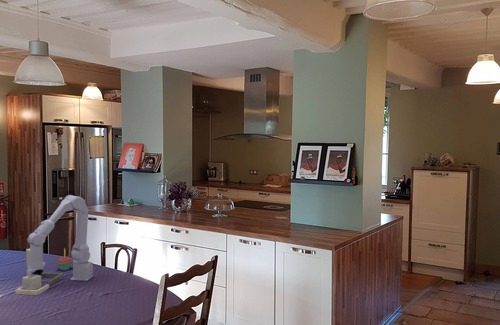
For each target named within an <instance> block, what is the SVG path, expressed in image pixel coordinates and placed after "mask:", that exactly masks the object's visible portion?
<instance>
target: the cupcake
mask: <svg viewBox="0 0 500 325" xmlns="http://www.w3.org/2000/svg"><path fill="white" fill-rule="evenodd" d="M63 252H64V254H63V256H60V257H59V258H57V260H56V264H57V266H58V268H59V270H60V271H68V270H70V267H71V264H73V258H72V257H71V256H66V248H63Z"/></svg>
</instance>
